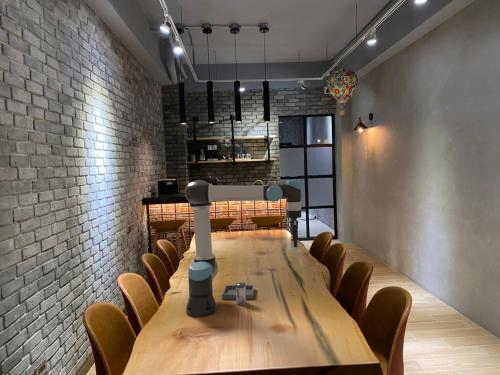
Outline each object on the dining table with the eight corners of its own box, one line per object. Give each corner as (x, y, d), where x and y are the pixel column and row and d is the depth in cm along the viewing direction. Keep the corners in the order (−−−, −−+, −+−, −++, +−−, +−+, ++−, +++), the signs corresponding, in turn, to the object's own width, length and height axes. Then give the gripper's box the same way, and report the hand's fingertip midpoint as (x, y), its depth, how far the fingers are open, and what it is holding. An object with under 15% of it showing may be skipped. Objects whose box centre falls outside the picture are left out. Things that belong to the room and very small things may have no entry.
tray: (222, 299, 199) (221, 294, 199) (225, 289, 215) (225, 285, 215) (252, 299, 198) (252, 294, 198) (254, 289, 214) (254, 285, 214)
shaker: (235, 305, 191) (235, 285, 190) (236, 301, 196) (236, 282, 195) (245, 305, 190) (245, 285, 190) (246, 301, 196) (245, 282, 195)
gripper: (303, 212, 179) (303, 256, 180) (299, 207, 204) (299, 245, 205) (287, 212, 180) (288, 256, 181) (285, 207, 204) (286, 245, 206)
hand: (294, 250), depth 193 cm, fingers open, 13 cm apart
